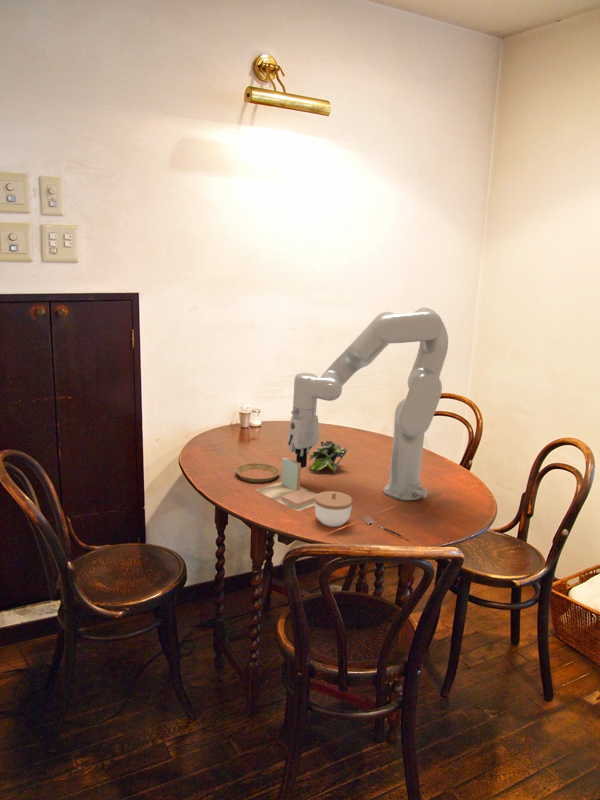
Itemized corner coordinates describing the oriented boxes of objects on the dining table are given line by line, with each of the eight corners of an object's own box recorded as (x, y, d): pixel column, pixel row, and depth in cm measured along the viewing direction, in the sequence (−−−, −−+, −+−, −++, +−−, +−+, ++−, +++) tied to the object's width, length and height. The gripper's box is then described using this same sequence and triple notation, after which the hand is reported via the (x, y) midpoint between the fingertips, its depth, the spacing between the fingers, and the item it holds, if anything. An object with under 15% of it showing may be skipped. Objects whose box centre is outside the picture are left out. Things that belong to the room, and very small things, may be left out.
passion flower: (323, 482, 224) (341, 449, 227) (341, 488, 213) (359, 454, 216) (297, 465, 219) (315, 432, 222) (314, 471, 208) (333, 436, 211)
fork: (406, 543, 169) (407, 536, 168) (361, 522, 180) (362, 516, 179) (412, 540, 170) (412, 534, 170) (367, 520, 181) (368, 514, 181)
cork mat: (330, 501, 193) (330, 499, 192) (297, 513, 183) (297, 511, 183) (286, 481, 206) (286, 480, 206) (254, 491, 197) (254, 490, 197)
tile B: (299, 489, 199) (301, 463, 197) (295, 490, 198) (297, 464, 196) (284, 483, 204) (286, 457, 201) (281, 484, 203) (282, 458, 200)
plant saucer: (226, 475, 210) (227, 468, 209) (261, 467, 219) (262, 460, 219) (252, 489, 199) (252, 482, 198) (288, 480, 208) (288, 473, 208)
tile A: (318, 496, 190) (297, 503, 184) (318, 501, 191) (296, 508, 185) (302, 489, 195) (281, 496, 189) (302, 494, 196) (281, 500, 189)
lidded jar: (348, 516, 183) (350, 486, 181) (352, 532, 172) (355, 501, 170) (312, 514, 182) (314, 485, 180) (314, 531, 172) (316, 499, 170)
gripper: (295, 418, 190) (292, 474, 195) (329, 411, 200) (325, 465, 205) (279, 412, 195) (276, 467, 200) (312, 406, 206) (309, 458, 210)
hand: (301, 466), depth 202 cm, fingers closed
